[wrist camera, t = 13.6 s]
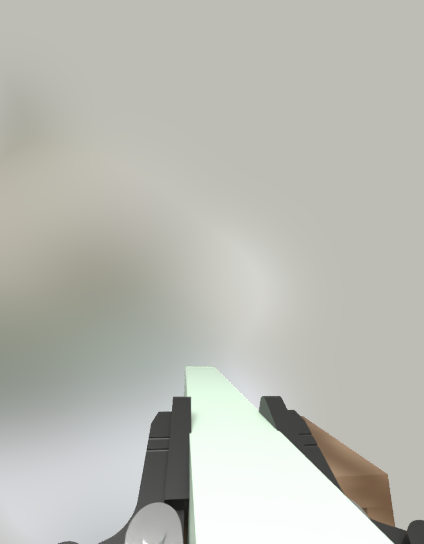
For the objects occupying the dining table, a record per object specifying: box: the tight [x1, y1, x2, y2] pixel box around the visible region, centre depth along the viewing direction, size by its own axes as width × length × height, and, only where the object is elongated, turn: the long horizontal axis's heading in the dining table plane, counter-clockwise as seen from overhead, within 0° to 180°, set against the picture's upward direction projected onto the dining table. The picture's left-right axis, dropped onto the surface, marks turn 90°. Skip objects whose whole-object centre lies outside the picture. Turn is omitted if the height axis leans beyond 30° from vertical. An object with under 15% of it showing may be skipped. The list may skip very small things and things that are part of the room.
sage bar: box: [184, 366, 394, 544], centre depth 14 cm, size 3×24×3 cm, turn 6°
